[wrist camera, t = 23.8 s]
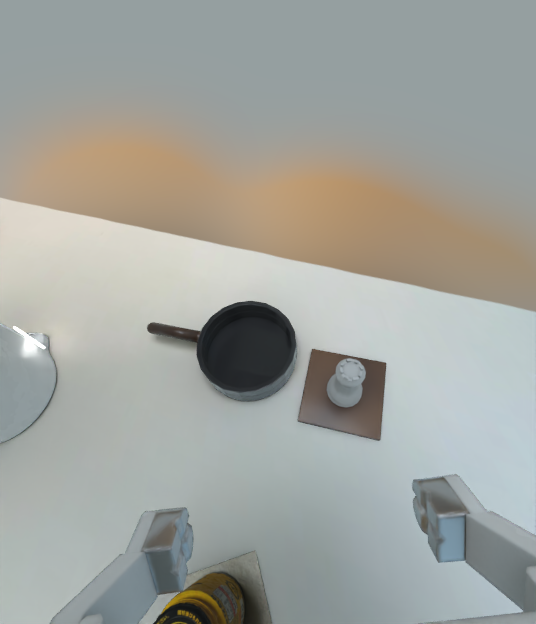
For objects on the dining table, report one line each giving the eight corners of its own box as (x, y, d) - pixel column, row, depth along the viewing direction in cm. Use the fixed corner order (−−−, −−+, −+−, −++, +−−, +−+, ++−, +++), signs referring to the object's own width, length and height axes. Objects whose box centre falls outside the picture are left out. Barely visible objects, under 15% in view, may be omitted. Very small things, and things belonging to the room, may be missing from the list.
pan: (191, 389, 45) (182, 379, 42) (221, 308, 51) (215, 294, 48) (284, 411, 42) (283, 402, 39) (304, 323, 49) (304, 309, 45)
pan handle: (148, 334, 48) (143, 329, 46) (152, 324, 48) (148, 319, 47) (204, 345, 46) (201, 340, 44) (207, 335, 47) (204, 330, 45)
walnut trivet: (297, 421, 42) (297, 420, 41) (312, 350, 46) (312, 348, 46) (379, 440, 40) (380, 439, 39) (385, 364, 44) (386, 362, 44)
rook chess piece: (345, 415, 41) (354, 397, 34) (319, 390, 43) (322, 368, 36) (368, 391, 42) (381, 369, 35) (342, 367, 44) (349, 342, 37)
